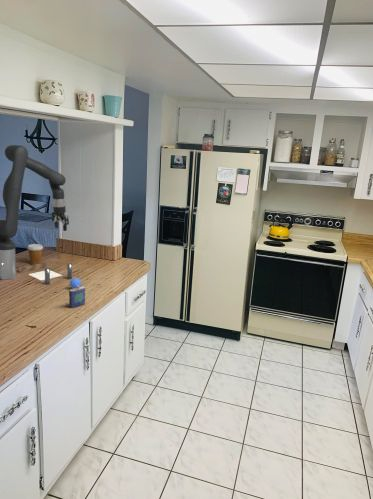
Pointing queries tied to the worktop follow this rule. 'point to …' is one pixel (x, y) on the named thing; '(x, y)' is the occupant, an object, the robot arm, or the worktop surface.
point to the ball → (75, 283)
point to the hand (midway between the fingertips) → (60, 229)
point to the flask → (76, 297)
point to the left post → (47, 276)
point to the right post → (69, 271)
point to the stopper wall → (32, 267)
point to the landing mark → (42, 275)
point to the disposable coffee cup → (35, 253)
